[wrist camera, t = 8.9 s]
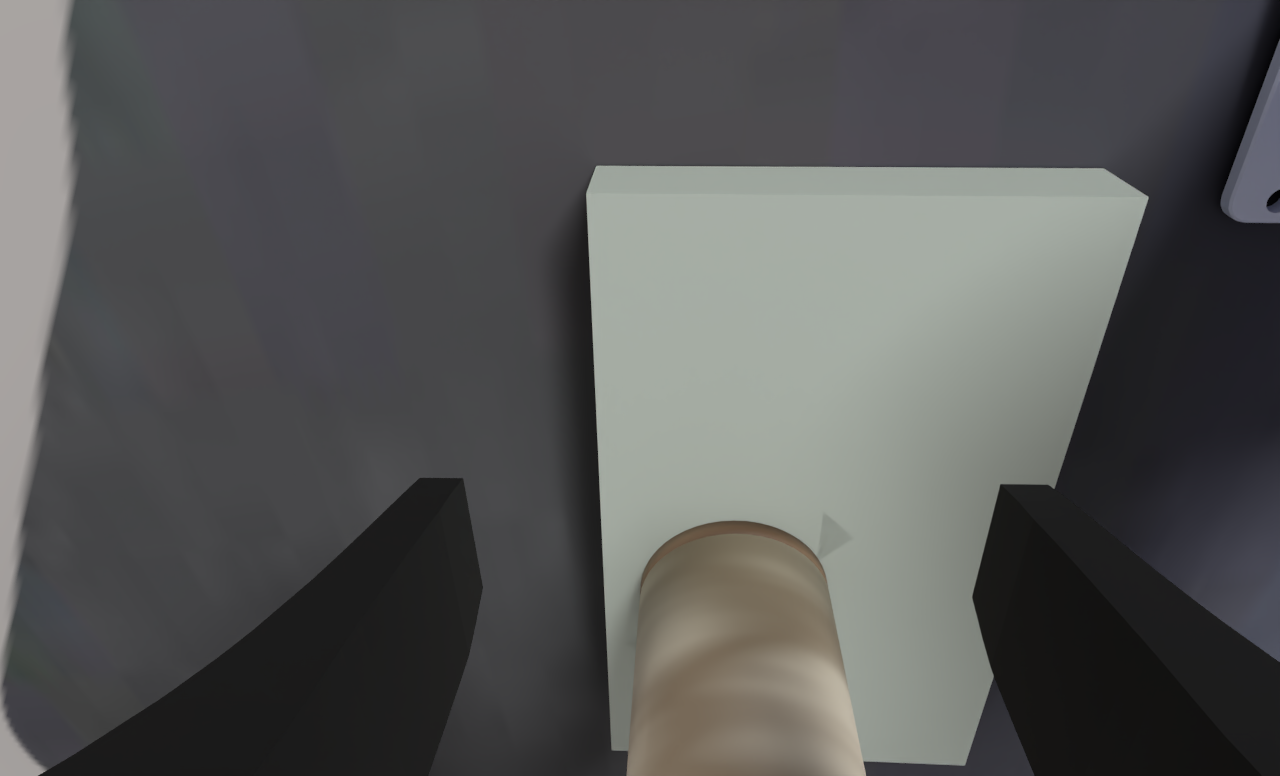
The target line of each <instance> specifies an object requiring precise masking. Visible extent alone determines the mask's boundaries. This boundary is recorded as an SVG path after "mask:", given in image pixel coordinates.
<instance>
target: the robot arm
mask: <svg viewBox="0 0 1280 776" xmlns="http://www.w3.org/2000/svg"><path fill="white" fill-rule="evenodd" d="M1277 190H1280V40H1279V42H1278V45H1277V48H1276V50H1275V53H1274V56H1273V58H1272V61H1271V64H1270V67H1269V69H1268V72H1267V75H1266V77H1265V80H1264V83H1263V85H1262V88H1261V91H1260V94H1259V96H1258V99H1257V102H1256V104H1255V107H1254V110H1253V112H1252V115H1251V118H1250V120H1249V123H1248V126H1247V129H1246V131H1245V134H1244V137H1243V139H1242V142H1241V145H1240V147H1239V150H1238V153H1237V155H1236V158H1235V161H1234V164H1233V166H1232V169H1231V172H1230V174H1229V177H1228V180H1227V182H1226V185H1225V188H1224V191H1223V193H1222V196H1221V203H1220V205H1221V208H1222V211H1223V212H1224V213H1225V214H1226V215H1228V216H1229V217H1231V218H1232V219H1234V220H1236V221H1239V222H1244V223H1280V198H1279V200H1278V201H1277V202H1276V203H1274V204H1273V205H1271V206H1267V207H1266V205H1267V200H1268V199H1269V197H1270V196H1271V194H1273V193H1274V192H1276V191H1277ZM482 589H483V586H482V580H481V575H480V569H479V564H478V558H477V553H476V547H475V542H474V536H473V531H472V525H471V520H470V514H469V509H468V503H467V498H466V492H465V487H464V481H463V478H419V479H418V480H417V481H416V482H415V483H414V484H413V485H412V486H411V487H410V488H409V489H408V490H406V491H405V492H404V493H403V494H402V495H401V496H400V497H399V498H398V499H397V500H396V501H395V502H394V503H393V504H392V505H391V506H390V507H389V508H388V509H387V510H386V511H385V512H383V513H382V514H381V515H380V516H379V517H378V518H377V519H376V520H375V521H374V522H373V523H372V524H371V525H370V526H369V527H368V528H367V529H366V530H365V531H364V532H363V533H362V534H361V535H360V536H359V537H358V538H357V539H355V540H354V541H353V542H352V543H351V544H350V545H349V546H348V547H347V548H346V549H345V550H344V551H343V552H342V553H341V554H340V555H338V556H337V557H336V558H335V559H334V560H333V561H332V562H331V563H330V564H329V565H328V566H327V567H325V568H324V569H323V570H322V571H321V572H320V573H319V574H318V575H317V576H316V577H315V578H314V579H313V580H311V581H310V582H309V583H308V584H307V585H306V586H304V587H303V588H302V589H301V590H300V591H299V592H297V593H296V594H295V595H294V596H293V597H292V598H290V599H289V600H288V601H287V602H286V603H284V604H283V605H282V606H281V607H280V608H279V609H277V610H276V611H275V612H274V613H273V614H272V615H270V616H269V617H268V618H267V619H266V620H265V621H263V622H262V623H261V624H260V625H259V626H257V627H256V628H255V629H254V630H253V631H251V632H250V633H249V634H248V635H246V636H245V637H244V638H243V639H241V640H240V641H239V642H238V643H236V644H235V645H234V646H232V647H231V648H230V649H229V650H227V651H226V652H225V653H223V654H222V655H221V656H219V657H218V658H217V659H215V660H214V661H213V662H211V663H210V664H209V665H207V666H206V667H204V668H203V669H202V670H200V671H199V672H198V673H196V674H195V675H193V676H192V677H191V678H189V679H188V680H186V681H185V682H184V683H182V684H181V685H180V686H178V687H177V688H175V689H174V690H173V691H171V692H170V693H168V694H167V695H165V696H164V697H162V698H161V699H160V700H158V701H157V702H155V703H153V704H152V705H150V706H149V707H147V708H146V709H144V710H143V711H141V712H139V713H138V714H136V715H135V716H133V717H132V718H130V719H129V720H127V721H125V722H124V723H122V724H121V725H119V726H118V727H116V728H115V729H113V730H112V731H110V732H108V733H107V734H105V735H104V736H102V737H101V738H99V739H98V740H96V741H94V742H93V743H91V744H90V745H88V746H87V747H85V748H84V749H82V750H80V751H79V752H77V753H76V754H74V755H72V756H71V757H69V758H67V759H66V760H64V761H63V762H61V763H59V764H57V765H56V766H54V767H52V768H51V769H49V770H47V771H45V772H44V773H42V774H40V775H39V776H428V775H429V772H430V769H431V766H432V763H433V760H434V757H435V754H436V751H437V748H438V745H439V742H440V740H441V737H442V734H443V731H444V728H445V725H446V722H447V719H448V716H449V713H450V710H451V707H452V704H453V701H454V698H455V695H456V693H457V690H458V687H459V684H460V681H461V678H462V675H463V672H464V669H465V665H466V662H467V659H468V656H469V652H470V648H471V643H472V639H473V634H474V629H475V625H476V620H477V614H478V609H479V604H480V599H481V594H482ZM972 599H973V603H974V607H975V611H976V615H977V619H978V623H979V627H980V631H981V635H982V639H983V642H984V646H985V649H986V653H987V656H988V660H989V663H990V667H991V670H992V672H993V675H994V677H995V680H996V683H997V685H998V688H999V690H1000V692H1001V695H1002V697H1003V700H1004V702H1005V705H1006V707H1007V710H1008V712H1009V715H1010V717H1011V720H1012V722H1013V724H1014V727H1015V729H1016V732H1017V734H1018V737H1019V739H1020V741H1021V744H1022V746H1023V749H1024V751H1025V753H1026V756H1027V758H1028V761H1029V763H1030V765H1031V768H1032V770H1033V773H1034V775H1035V776H1280V662H1278V661H1277V660H1276V659H1274V658H1273V657H1271V656H1270V655H1269V654H1267V653H1266V652H1264V651H1263V650H1261V649H1260V648H1259V647H1257V646H1256V645H1254V644H1253V643H1252V642H1250V641H1249V640H1247V639H1246V638H1245V637H1243V636H1242V635H1240V634H1239V633H1238V632H1236V631H1235V630H1233V629H1232V628H1231V627H1229V626H1228V625H1226V624H1225V623H1224V622H1222V621H1221V620H1220V619H1218V618H1217V617H1216V616H1214V615H1213V614H1212V613H1210V612H1209V611H1208V610H1206V609H1205V608H1204V607H1202V606H1201V605H1200V604H1198V603H1197V602H1196V601H1195V600H1193V599H1192V598H1191V597H1189V596H1188V595H1187V594H1185V593H1184V592H1183V591H1182V590H1180V589H1179V588H1178V587H1176V586H1175V585H1174V584H1173V583H1171V582H1170V581H1169V580H1167V579H1166V578H1165V577H1164V576H1162V575H1161V574H1160V573H1159V572H1157V571H1156V570H1155V569H1154V568H1152V567H1151V566H1150V565H1149V564H1147V563H1146V562H1145V561H1144V560H1142V559H1141V558H1140V557H1139V556H1137V555H1136V554H1135V553H1134V552H1132V551H1131V550H1130V549H1129V548H1127V547H1126V546H1125V545H1124V544H1122V543H1121V542H1120V541H1119V540H1118V539H1116V538H1115V537H1114V536H1113V535H1111V534H1110V533H1109V532H1108V531H1106V530H1105V529H1104V528H1103V527H1102V526H1100V525H1099V524H1098V523H1097V522H1095V521H1094V520H1093V519H1092V518H1090V517H1089V516H1088V515H1087V514H1086V513H1084V512H1083V511H1082V510H1081V509H1079V508H1078V507H1077V506H1076V505H1074V504H1073V503H1072V502H1071V501H1069V500H1068V499H1067V498H1065V497H1064V496H1063V495H1062V494H1060V493H1059V492H1058V491H1056V490H1055V489H1054V488H1052V487H1051V486H1049V485H1035V484H1000V488H999V492H998V496H997V500H996V504H995V508H994V512H993V516H992V520H991V523H990V527H989V531H988V535H987V539H986V543H985V547H984V551H983V555H982V559H981V563H980V567H979V571H978V575H977V579H976V583H975V587H974V591H973V595H972Z"/></svg>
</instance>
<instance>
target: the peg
mask: <svg viewBox="0 0 1280 776" xmlns="http://www.w3.org/2000/svg"><path fill="white" fill-rule="evenodd" d="M627 776H866V773H865V768H864V763H863V758H862V753H861V748H860V743H859V738H858V733H857V728H856V723H855V718H854V714H853V709H852V704H851V699H850V694H849V689H848V684H847V679H846V674H845V669H844V664H843V659H842V654H841V649H840V644H839V639H838V634H837V629H836V624H835V619H834V614H833V609H832V604H831V599H830V594H829V589H828V584H827V579H826V574H825V572H824V569H823V566H822V564H821V563H820V561H819V559H818V558H817V556H816V555H815V554H814V553H813V551H812V550H811V549H810V548H809V547H808V546H807V545H805V544H804V543H803V542H802V541H800V540H799V539H797V538H796V537H795V536H793V535H791V534H789V533H787V532H785V531H783V530H781V529H778V528H775V527H773V526H769V525H765V524H762V523H756V522H750V521H734V520H733V521H719V522H713V523H707V524H703V525H700V526H696V527H693V528H691V529H688V530H686V531H683V532H681V533H680V534H678V535H676V536H674V537H673V538H671V539H670V540H668V541H667V542H665V543H664V544H663V545H662V546H661V547H660V548H659V549H658V550H657V551H656V552H655V553H654V554H653V556H652V557H651V558H650V560H649V561H648V563H647V565H646V567H645V569H644V572H643V575H642V580H641V587H640V601H639V614H638V628H637V641H636V655H635V668H634V682H633V695H632V709H631V722H630V736H629V749H628V763H627Z"/></svg>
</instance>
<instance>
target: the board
mask: <svg viewBox="0 0 1280 776" xmlns="http://www.w3.org/2000/svg"><path fill="white" fill-rule="evenodd" d="M1148 198H1149V197H1148V196H1146V195H1145V194H1143V193H1141V192H1140V191H1138V190H1137V189H1135V188H1134V187H1132V186H1130V185H1129V184H1127V183H1126V182H1124V181H1123V180H1121V179H1119V178H1118V177H1116V176H1115V175H1113V174H1112V173H1110V172H1108V171H1107V170H1105V169H1104V168H928V167H730V166H596V168H595V171H594V174H593V176H592V179H591V182H590V184H589V187H588V190H587V193H586V199H587V221H588V243H589V264H590V286H591V308H592V330H593V352H594V374H595V396H596V418H597V440H598V462H599V484H600V506H601V528H602V550H603V572H604V594H605V616H606V638H607V660H608V682H609V704H610V726H611V748H612V750H616V751H628V749H629V736H630V722H631V709H632V695H633V682H634V668H635V655H636V641H637V628H638V614H639V601H640V587H641V580H642V575H643V572H644V569H645V567H646V565H647V563H648V561H649V560H650V558H651V557H652V556H653V554H654V553H655V552H656V551H657V550H658V549H659V548H660V547H661V546H662V545H663V544H664V543H665V542H667V541H668V540H670V539H671V538H673V537H674V536H676V535H678V534H680V533H681V532H683V531H686V530H688V529H691V528H693V527H696V526H700V525H703V524H707V523H713V522H719V521H733V520H734V521H750V522H756V523H762V524H765V525H769V526H773V527H775V528H778V529H781V530H783V531H785V532H787V533H789V534H791V535H793V536H795V537H796V538H797V539H799V540H800V541H802V542H803V543H804V544H805V545H807V546H808V547H809V548H810V549H811V550H812V551H813V553H814V554H815V555H816V556H817V558H818V559H819V561H820V563H821V564H822V566H823V569H824V572H825V574H826V579H827V584H828V589H829V594H830V599H831V604H832V609H833V614H834V619H835V624H836V629H837V634H838V639H839V644H840V649H841V654H842V659H843V664H844V669H845V674H846V679H847V684H848V689H849V694H850V699H851V704H852V709H853V714H854V718H855V723H856V728H857V733H858V738H859V743H860V748H861V753H862V758H863V761H871V762H894V763H917V764H940V765H963V766H965V764H966V761H967V757H968V754H969V751H970V748H971V745H972V742H973V739H974V736H975V733H976V730H977V727H978V724H979V720H980V717H981V714H982V711H983V708H984V705H985V702H986V699H987V696H988V693H989V690H990V686H991V683H992V680H993V677H994V675H993V672H992V670H991V667H990V663H989V660H988V656H987V653H986V649H985V646H984V642H983V639H982V635H981V631H980V627H979V623H978V619H977V615H976V611H975V607H974V603H973V599H972V595H973V591H974V587H975V583H976V579H977V575H978V571H979V567H980V563H981V559H982V555H983V551H984V547H985V543H986V539H987V535H988V531H989V527H990V523H991V520H992V516H993V512H994V508H995V504H996V500H997V496H998V492H999V488H1000V484H1035V485H1049V486H1051V487H1052V488H1054V489H1055V486H1056V483H1057V479H1058V476H1059V473H1060V470H1061V467H1062V464H1063V461H1064V458H1065V455H1066V452H1067V449H1068V445H1069V442H1070V439H1071V436H1072V433H1073V430H1074V427H1075V424H1076V421H1077V418H1078V415H1079V411H1080V408H1081V405H1082V402H1083V399H1084V396H1085V393H1086V390H1087V387H1088V384H1089V381H1090V377H1091V374H1092V371H1093V368H1094V365H1095V362H1096V359H1097V356H1098V353H1099V350H1100V347H1101V343H1102V340H1103V337H1104V334H1105V331H1106V328H1107V325H1108V322H1109V319H1110V316H1111V313H1112V309H1113V306H1114V303H1115V300H1116V297H1117V294H1118V291H1119V288H1120V285H1121V282H1122V279H1123V275H1124V272H1125V269H1126V266H1127V263H1128V260H1129V257H1130V254H1131V251H1132V248H1133V245H1134V242H1135V238H1136V235H1137V232H1138V229H1139V226H1140V223H1141V220H1142V217H1143V214H1144V211H1145V208H1146V204H1147V201H1148Z"/></svg>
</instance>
